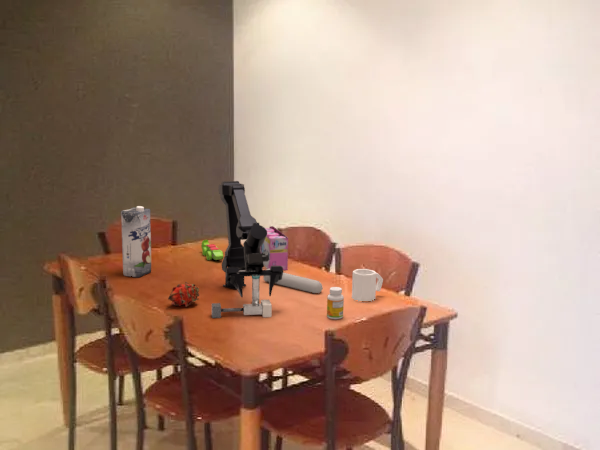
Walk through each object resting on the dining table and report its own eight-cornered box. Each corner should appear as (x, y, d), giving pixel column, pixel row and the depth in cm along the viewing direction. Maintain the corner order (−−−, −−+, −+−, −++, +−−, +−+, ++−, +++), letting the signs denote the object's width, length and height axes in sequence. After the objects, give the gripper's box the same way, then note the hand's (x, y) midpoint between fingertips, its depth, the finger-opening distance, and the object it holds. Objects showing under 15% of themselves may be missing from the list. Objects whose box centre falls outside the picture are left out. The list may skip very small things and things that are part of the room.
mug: (361, 303, 260) (362, 276, 258) (346, 296, 267) (347, 270, 265) (388, 298, 266) (389, 272, 264) (373, 292, 273) (374, 266, 271)
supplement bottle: (325, 314, 248) (326, 286, 246) (341, 314, 248) (342, 286, 246) (327, 319, 243) (328, 291, 241) (344, 319, 243) (345, 290, 241)
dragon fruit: (202, 306, 258) (171, 317, 251) (190, 288, 262) (160, 299, 255) (207, 292, 252) (175, 303, 245) (195, 273, 256) (163, 283, 249)
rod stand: (212, 318, 242) (212, 306, 241) (211, 314, 245) (211, 303, 244) (250, 316, 244) (250, 305, 243) (248, 313, 247) (248, 302, 246)
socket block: (263, 317, 243) (263, 305, 243) (260, 311, 249) (260, 299, 248) (271, 317, 244) (271, 305, 243) (269, 311, 250) (269, 299, 249)
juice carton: (119, 276, 287) (117, 207, 282) (135, 269, 297) (133, 203, 291) (139, 278, 284) (137, 209, 278) (154, 272, 294) (153, 204, 288)
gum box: (254, 257, 321) (255, 226, 318) (272, 256, 323) (272, 225, 321) (269, 271, 299) (269, 238, 296) (288, 270, 301) (288, 237, 298)
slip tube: (243, 315, 244) (244, 276, 241) (243, 312, 246) (243, 274, 244) (268, 314, 245) (268, 276, 242) (267, 311, 248) (267, 273, 245)
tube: (326, 282, 272) (273, 269, 287) (318, 280, 268) (265, 267, 282) (323, 296, 272) (270, 282, 286) (315, 295, 268) (261, 281, 282)
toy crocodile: (226, 262, 311) (226, 248, 310) (210, 264, 308) (210, 249, 307) (214, 251, 329) (214, 238, 328) (199, 252, 326) (199, 239, 325)
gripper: (226, 243, 243) (229, 285, 235) (282, 242, 246) (287, 283, 238) (224, 260, 252) (227, 301, 244) (279, 259, 256) (283, 299, 247)
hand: (256, 296), depth 243 cm, fingers open, 9 cm apart
